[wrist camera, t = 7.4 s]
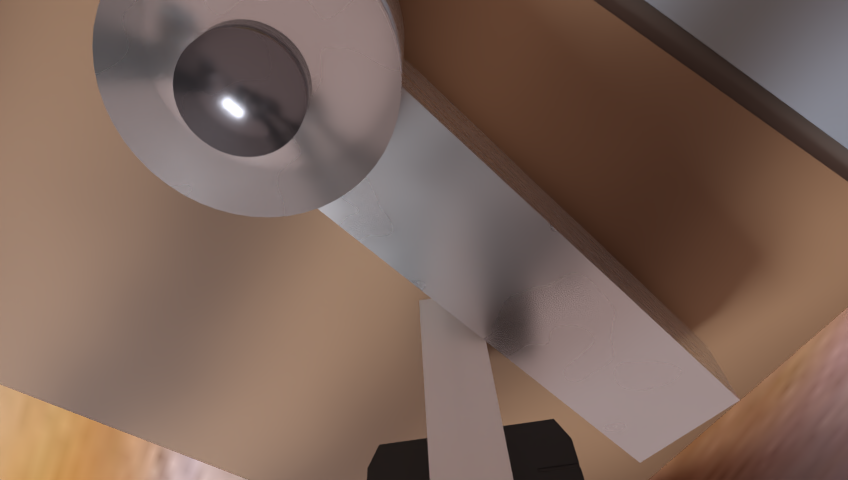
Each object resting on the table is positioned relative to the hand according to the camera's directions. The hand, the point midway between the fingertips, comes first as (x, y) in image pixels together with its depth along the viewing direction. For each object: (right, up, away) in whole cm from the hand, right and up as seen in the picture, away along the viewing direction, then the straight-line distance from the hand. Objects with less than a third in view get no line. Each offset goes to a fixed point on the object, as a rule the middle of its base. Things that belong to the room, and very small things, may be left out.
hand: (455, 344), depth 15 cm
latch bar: (0, +3, -1) cm, 4 cm away
